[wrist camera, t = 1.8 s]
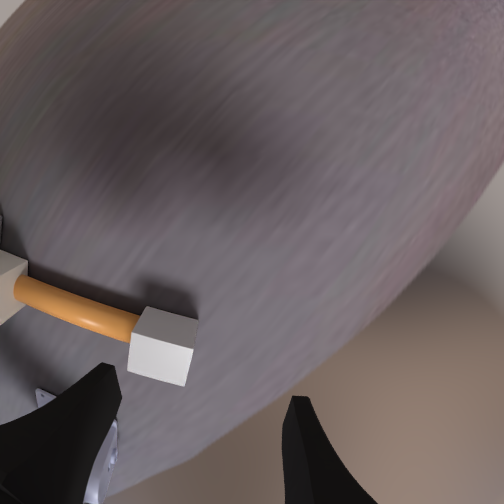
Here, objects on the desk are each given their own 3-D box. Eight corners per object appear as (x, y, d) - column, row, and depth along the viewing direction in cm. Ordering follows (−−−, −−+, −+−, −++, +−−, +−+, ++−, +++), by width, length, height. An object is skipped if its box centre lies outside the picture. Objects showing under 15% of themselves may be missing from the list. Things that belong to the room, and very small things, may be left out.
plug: (199, 315, 21) (193, 352, 17) (189, 358, 22) (181, 400, 17) (-7, 246, 19) (-43, 262, 14) (-6, 287, 20) (-39, 308, 15)
